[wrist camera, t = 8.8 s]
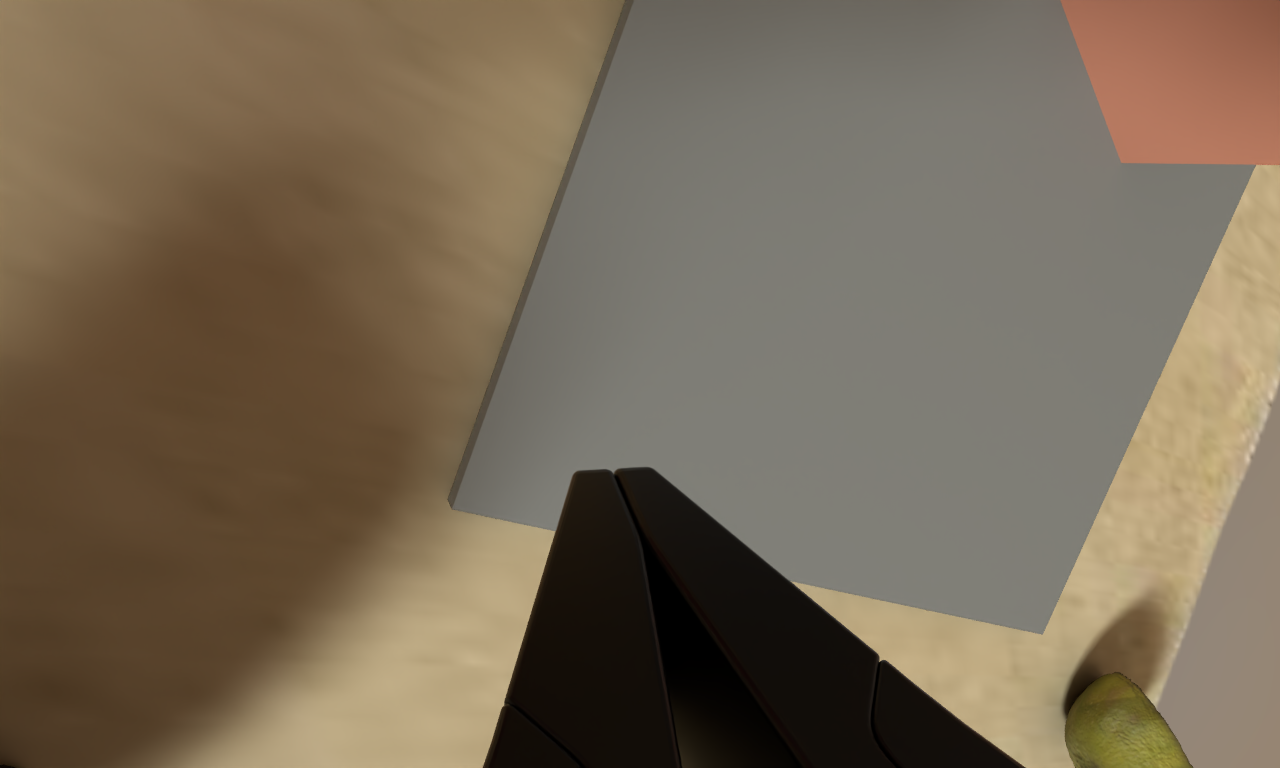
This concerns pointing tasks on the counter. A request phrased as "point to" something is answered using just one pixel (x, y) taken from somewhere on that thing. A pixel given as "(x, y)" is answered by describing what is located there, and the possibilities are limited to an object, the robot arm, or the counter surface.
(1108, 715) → the lime
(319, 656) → the counter surface
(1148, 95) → the maple block
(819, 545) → the slate mat
